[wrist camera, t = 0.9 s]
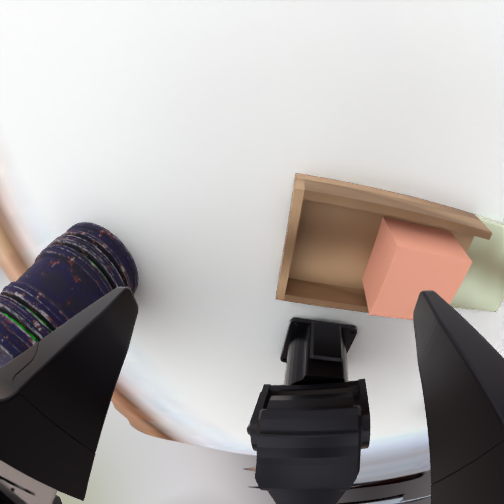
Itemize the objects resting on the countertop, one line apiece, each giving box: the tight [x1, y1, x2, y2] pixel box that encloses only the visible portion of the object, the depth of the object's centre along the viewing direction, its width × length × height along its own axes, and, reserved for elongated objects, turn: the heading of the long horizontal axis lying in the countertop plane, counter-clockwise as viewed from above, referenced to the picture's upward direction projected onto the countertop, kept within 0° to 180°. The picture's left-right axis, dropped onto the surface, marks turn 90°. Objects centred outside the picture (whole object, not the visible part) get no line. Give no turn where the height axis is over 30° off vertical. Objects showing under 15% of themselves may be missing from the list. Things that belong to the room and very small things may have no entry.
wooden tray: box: [276, 173, 504, 313], centre depth 20 cm, size 9×23×3 cm, turn 85°
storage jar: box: [0, 222, 138, 368], centre depth 21 cm, size 10×10×15 cm
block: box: [362, 217, 472, 320], centre depth 19 cm, size 6×6×4 cm
